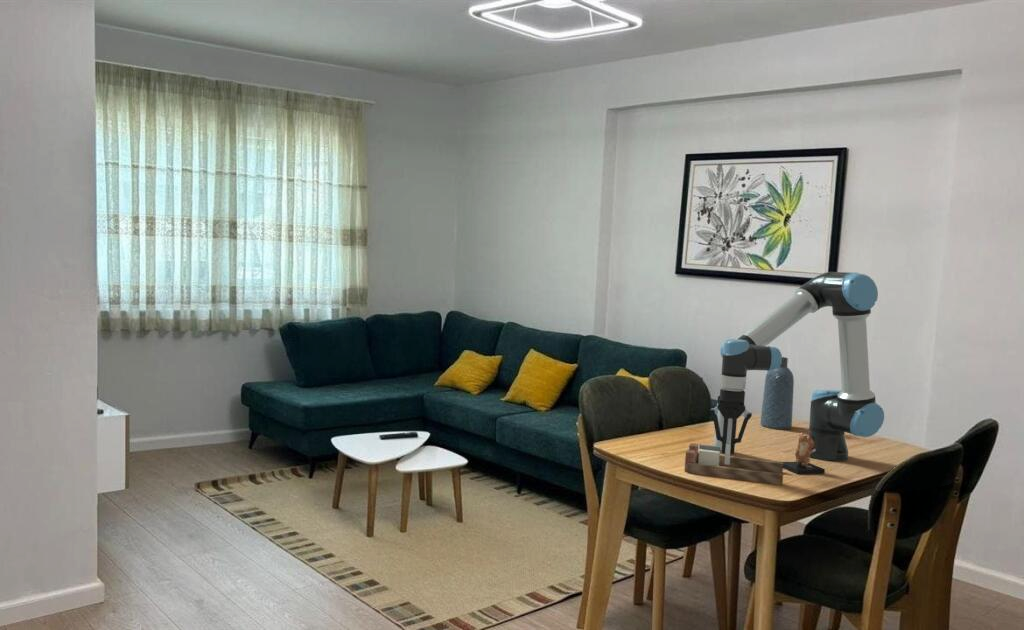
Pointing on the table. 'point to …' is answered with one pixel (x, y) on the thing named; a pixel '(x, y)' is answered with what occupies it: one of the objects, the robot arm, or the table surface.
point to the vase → (778, 398)
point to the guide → (735, 473)
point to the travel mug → (721, 424)
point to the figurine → (803, 458)
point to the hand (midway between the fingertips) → (727, 463)
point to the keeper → (709, 455)
